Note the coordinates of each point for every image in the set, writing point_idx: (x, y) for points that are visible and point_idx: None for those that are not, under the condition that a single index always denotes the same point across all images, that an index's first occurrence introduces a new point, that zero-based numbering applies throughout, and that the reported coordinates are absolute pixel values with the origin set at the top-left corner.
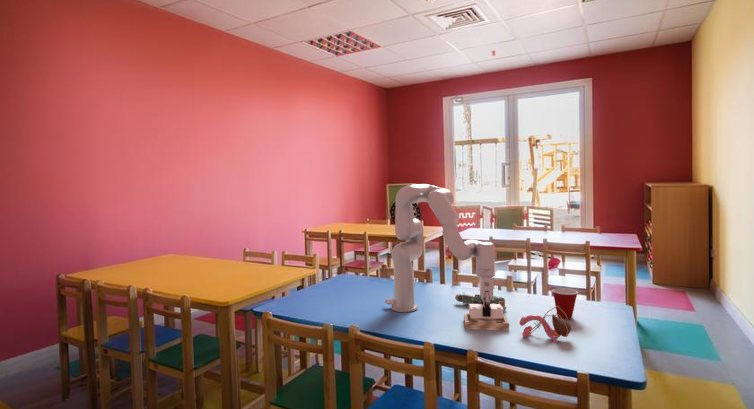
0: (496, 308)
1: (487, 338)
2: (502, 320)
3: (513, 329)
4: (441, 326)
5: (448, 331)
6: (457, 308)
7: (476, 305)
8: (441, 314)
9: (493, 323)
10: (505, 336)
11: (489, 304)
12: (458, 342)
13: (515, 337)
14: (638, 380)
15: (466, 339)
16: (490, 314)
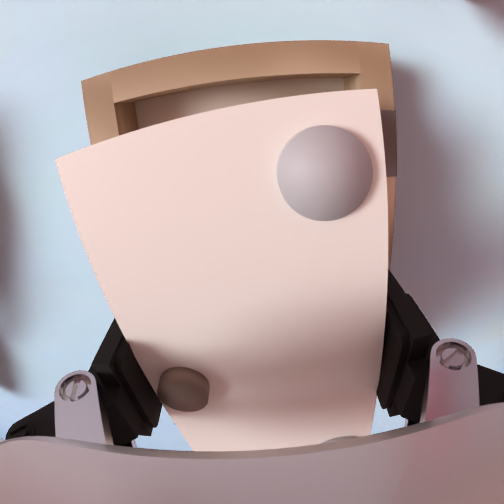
0: (362, 222)
1: (496, 234)
2: (141, 103)
3: (322, 12)
4: None
5: (382, 412)
6: (28, 385)
7: (244, 444)
8: (145, 445)
9: (392, 204)
10: (474, 111)
11: (472, 384)
12: (500, 352)
13: (477, 46)
14: None
15: (485, 332)
16: (389, 273)
